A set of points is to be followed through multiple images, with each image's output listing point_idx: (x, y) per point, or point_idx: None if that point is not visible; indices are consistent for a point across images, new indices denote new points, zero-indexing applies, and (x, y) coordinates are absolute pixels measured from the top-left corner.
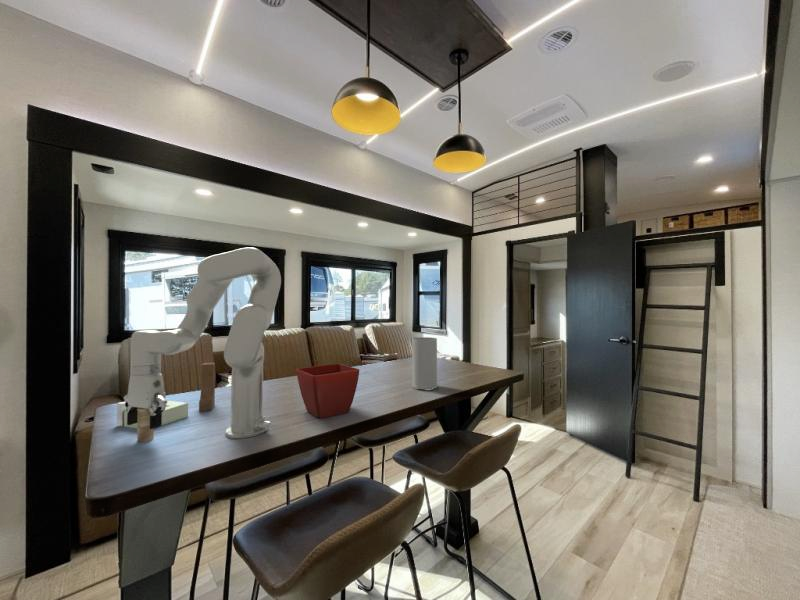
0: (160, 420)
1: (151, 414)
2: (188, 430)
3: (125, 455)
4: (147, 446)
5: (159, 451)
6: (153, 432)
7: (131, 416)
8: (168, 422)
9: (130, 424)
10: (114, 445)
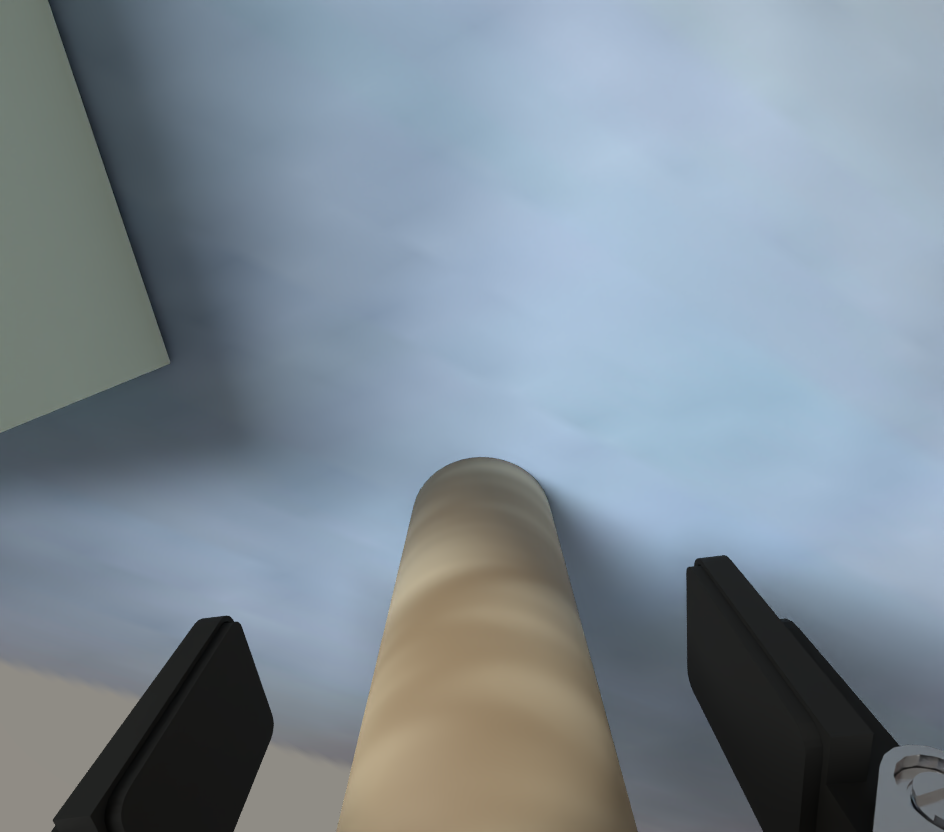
0: (822, 659)
1: (620, 780)
2: (663, 95)
3: (680, 734)
4: (670, 587)
5: (898, 601)
6: (532, 506)
7: (211, 825)
8: (54, 41)
9: (269, 713)
10: (355, 683)
